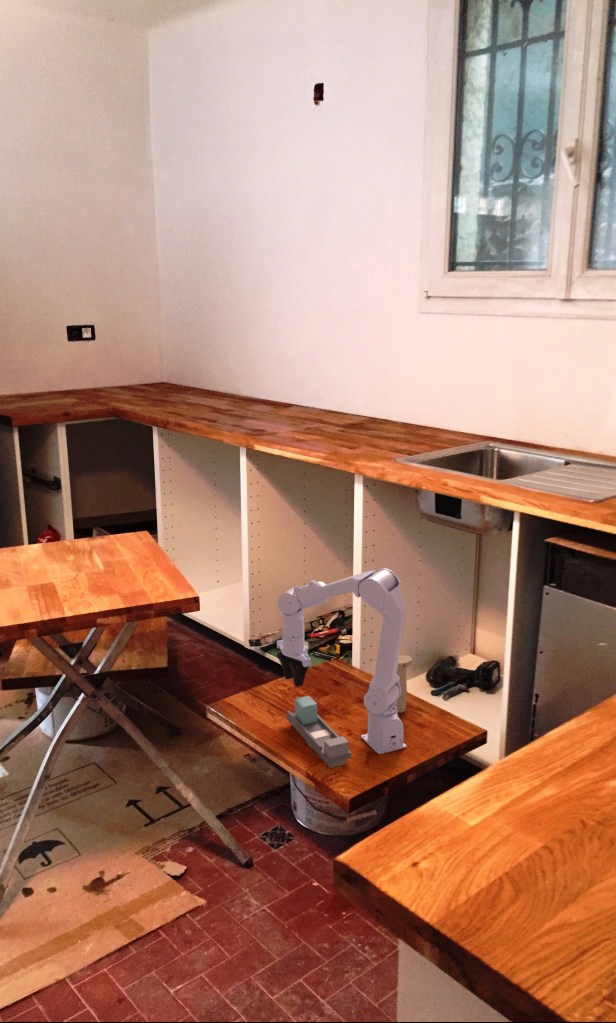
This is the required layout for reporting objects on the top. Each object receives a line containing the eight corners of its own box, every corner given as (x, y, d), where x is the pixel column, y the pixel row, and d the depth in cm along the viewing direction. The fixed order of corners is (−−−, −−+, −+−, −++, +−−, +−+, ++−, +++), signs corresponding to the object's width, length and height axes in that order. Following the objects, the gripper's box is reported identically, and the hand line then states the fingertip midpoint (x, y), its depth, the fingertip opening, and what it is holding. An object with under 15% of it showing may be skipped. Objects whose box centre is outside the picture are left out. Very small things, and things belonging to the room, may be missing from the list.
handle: (384, 709, 230) (385, 657, 227) (405, 704, 233) (406, 653, 229) (392, 717, 226) (393, 664, 222) (413, 712, 228) (415, 660, 224)
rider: (317, 721, 217) (317, 703, 216) (302, 725, 216) (302, 707, 214) (309, 713, 222) (308, 695, 220) (295, 716, 220) (294, 698, 219)
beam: (351, 763, 204) (351, 741, 202) (327, 769, 201) (327, 747, 200) (309, 719, 225) (309, 698, 224) (287, 724, 222) (286, 703, 221)
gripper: (321, 639, 216) (321, 688, 219) (292, 621, 228) (293, 668, 231) (297, 645, 212) (297, 695, 216) (269, 626, 224) (270, 674, 228)
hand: (294, 682), depth 223 cm, fingers open, 4 cm apart
